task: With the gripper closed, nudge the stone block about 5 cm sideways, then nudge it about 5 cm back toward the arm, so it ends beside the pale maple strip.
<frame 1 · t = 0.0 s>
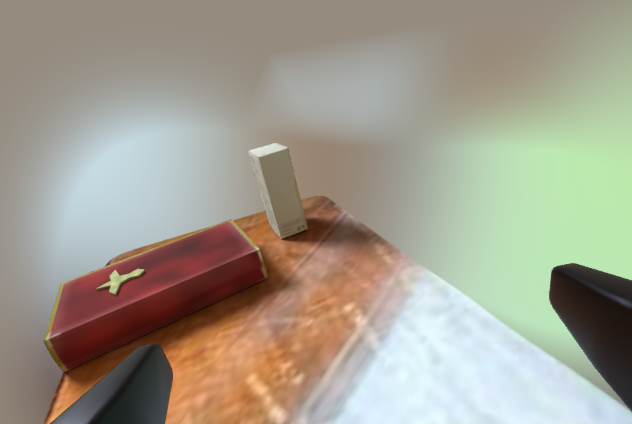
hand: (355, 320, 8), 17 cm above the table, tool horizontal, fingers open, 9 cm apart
cosmetic box: (288, 228, 52), on the table
hardcover book: (171, 296, 41), on the table
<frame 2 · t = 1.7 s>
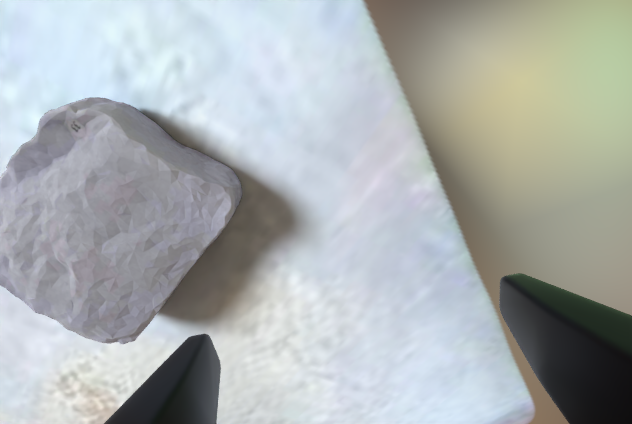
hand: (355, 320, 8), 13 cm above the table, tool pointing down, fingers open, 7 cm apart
stone block: (122, 207, 20), on the table
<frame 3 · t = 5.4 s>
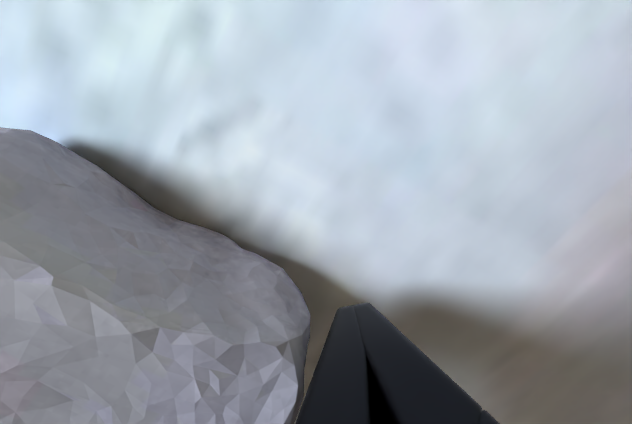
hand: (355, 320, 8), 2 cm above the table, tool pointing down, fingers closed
stone block: (51, 336, 10), on the table, touching gripper
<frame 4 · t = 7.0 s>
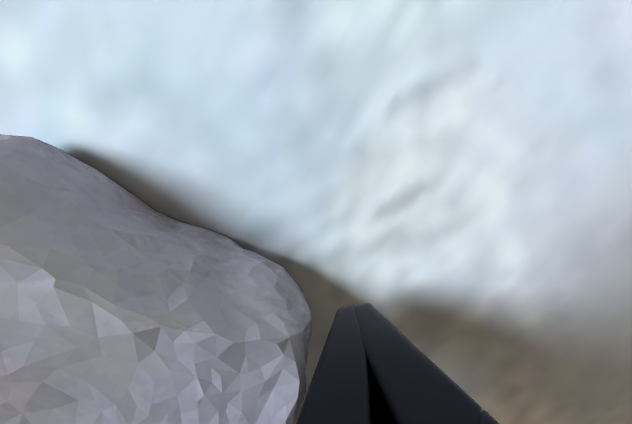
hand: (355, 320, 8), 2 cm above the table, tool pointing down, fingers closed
stone block: (57, 340, 10), on the table, touching gripper
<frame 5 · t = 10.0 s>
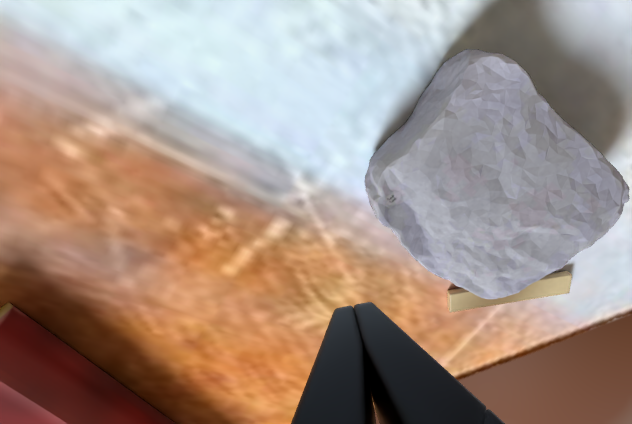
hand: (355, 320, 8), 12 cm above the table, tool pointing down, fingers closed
maple strip: (506, 289, 23), on the table
stone block: (462, 183, 20), on the table
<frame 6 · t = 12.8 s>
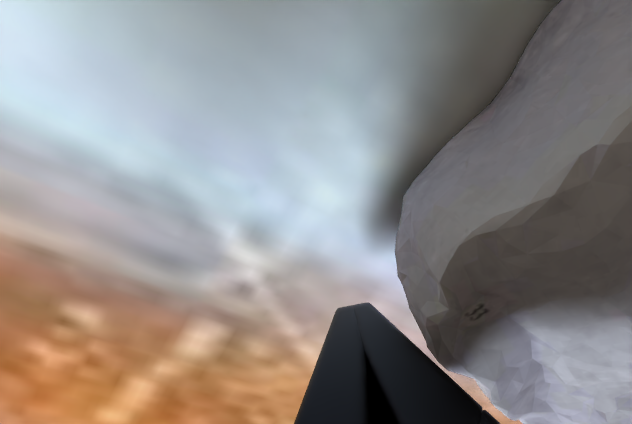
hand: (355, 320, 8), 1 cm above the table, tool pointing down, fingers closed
stone block: (604, 236, 9), on the table, touching gripper
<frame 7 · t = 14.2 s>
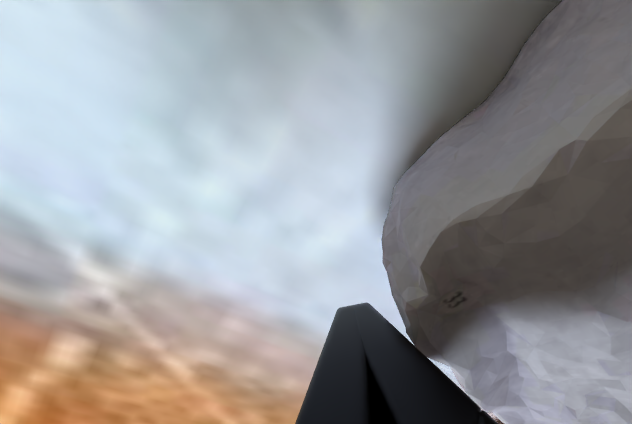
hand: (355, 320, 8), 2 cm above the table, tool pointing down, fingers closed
stone block: (588, 241, 9), on the table, touching gripper
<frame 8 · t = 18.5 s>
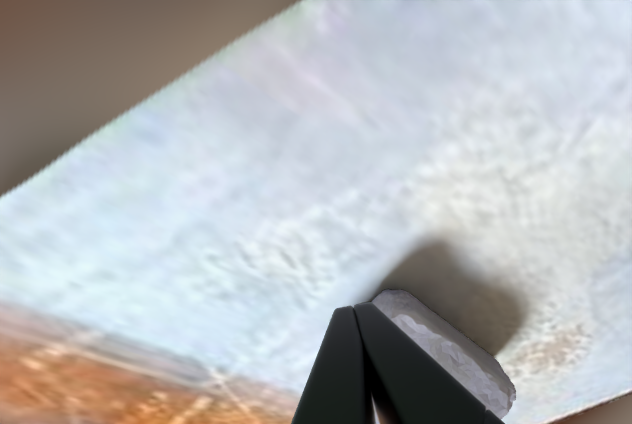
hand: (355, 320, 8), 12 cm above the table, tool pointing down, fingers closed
stone block: (399, 359, 26), on the table
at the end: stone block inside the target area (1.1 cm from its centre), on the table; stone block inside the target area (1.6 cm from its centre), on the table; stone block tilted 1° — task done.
